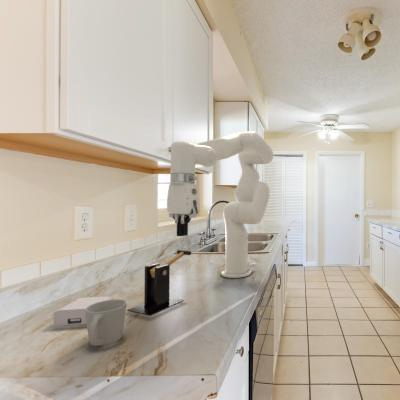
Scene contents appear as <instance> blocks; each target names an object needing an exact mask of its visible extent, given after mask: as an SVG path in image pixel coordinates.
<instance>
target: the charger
mask: <svg viewBox="0 0 400 400" xmlns="http://www.w3.org/2000/svg"><path fill="white" fill-rule="evenodd" d="M106 300H114V299H113V297H111V296H107V295H106V296H92V297H91V296H89V297H88V296H87V297H80V298H77V299H75V300H74V301H71V302H69V303H68V304H67V305H64V306H63V307H61V308H59V309H58V310H56V311H55V312H53V327H57V326H59V327H60V326H74V325H87V322H86V314H85V309H86V308H87V307H88V306H90V305H92V304H95V303H98V302H102V301H106Z"/></svg>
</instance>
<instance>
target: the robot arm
mask: <svg viewBox="0 0 400 400" xmlns="http://www.w3.org/2000/svg"><path fill="white" fill-rule="evenodd" d="M236 155H238V162H239V164H240V168H241V174H240V178H239V180H238V182H237V185H236V188H235V189H234V190H235V191H234V199H235V200H236V201H229V202H228V203H226V204H225V205H224V207H223V210H222V216H223V221H224V228H225V229H224V230H225V232H224V233H225V238H224V239H225V242H224V243H225V244H224V245H225V246H224V249H225V253H224V255H225V257H224V259H225V261H224V263H225V264H224V270H222V271H221V276H222V277H223V278H229V279H241V278H244V277H245V278H246V277H249V276H250V275H251V274H252V270H251V269H252V268H255V267H257V263H256V262H249V233H248V228H246V225H257V224H260V223H261V222H262V220H263V218H264V215H265V213H266V209H267V206H268V204H269V203H268V202H269V199H270V196H271V195H270V194H271V193H270V192H271V191H270V190H271V189H270V187H269V185H268V184H267V182H264V181H260V177H261V175H260V174H259V171H258V169H257V168H256V167H255V165H267V164H270V163H272V161H273V159H274V151H273V149H272V147H271V146H270V145H269V143H268V142H267V141H266V140H265V139H264V138H263V136H261V134H259V133H258V132H256V131H253V130H252V131H243V132H242V131H241V132H235V133H231V134H228V135H225V136H221V137H217V138H214V139H209V140H206V141H201V142H198V143H197V142H196V143H192V142H189V141H181V140H180V141H173V142H172V143H171V145H170V180H169V183H170V184H169V185H168V189H167V190H168V191H167V200H166V211H167V213H168V217H169V218H171V219H173V220H174V223H175V224H176V236H177V237H186V236H187V237H188V235H189V224H190V223H191V220H192V219H196V218H197V216H198V214H199V213H200V210H201V209H200V208H201V203H200V192H199V187H198V184H197V183H196V181H197V179H198V177H197V176H196V169H197V168H198V169H200V168H201V169H202V168H210V167H213V166H214V165H215V164H216V163H217V161H222V160H226V159H230V158H232V157H234V156H236Z"/></svg>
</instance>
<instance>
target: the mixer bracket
mask: <svg viewBox="0 0 400 400" xmlns="http://www.w3.org/2000/svg"><path fill="white" fill-rule="evenodd" d="M157 265H159V266H160V267H156V268H155V278H153V277H152V276H151V273H150V270H151V269H153V268H154V267H155V266H157ZM162 265H163V266H162ZM162 265H161V263H159V262H157V263H152V264H149V265H144V296H143V297H144V301H143V302H144V303H142V304H139V305H136V306H134V307H131V308H129V309H126V312H131V313H135V314H139V315H145V316H149V317H151V316H153V315H155V314H158V313H160V312H163V311H164V310H167V309H169V308H171V307H173V306H176V305H178V304H180V303H183V302H185V300H184V299H180V298H175V297H170V271H171V270H170V269H171V268H170V266H171V265H164V264H162Z"/></svg>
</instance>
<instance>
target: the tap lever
mask: <svg viewBox="0 0 400 400" xmlns="http://www.w3.org/2000/svg"><path fill="white" fill-rule="evenodd" d="M191 255H192V251H191V250H181V249H178V250H176V255H175V256H173V257H172V258H170V259H168V261H167V262H165V263H163V264H162V265H160V266H163V265H170V266H172V265H173V264H174V263H175V262H177V261H178V260H179V259H181V258H182V257H184V256H191ZM160 266H159V265H157V266H155V267H154V268H153V269H151V270H150V273H151V276H152V277H153V278H155V268H156V267H160Z"/></svg>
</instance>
